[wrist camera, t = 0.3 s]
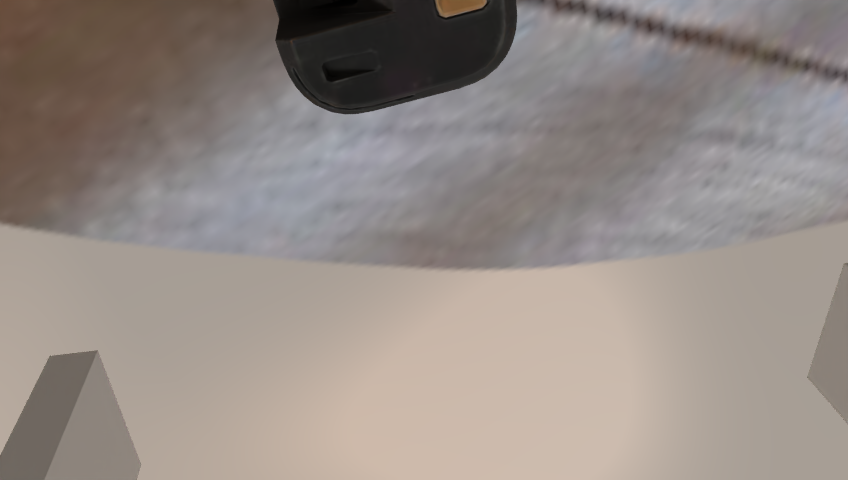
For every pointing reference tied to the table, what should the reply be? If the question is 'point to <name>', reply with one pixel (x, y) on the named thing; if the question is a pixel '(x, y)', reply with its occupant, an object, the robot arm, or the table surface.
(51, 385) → the robot arm
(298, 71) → the electronic device
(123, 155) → the table surface
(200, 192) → the table surface
